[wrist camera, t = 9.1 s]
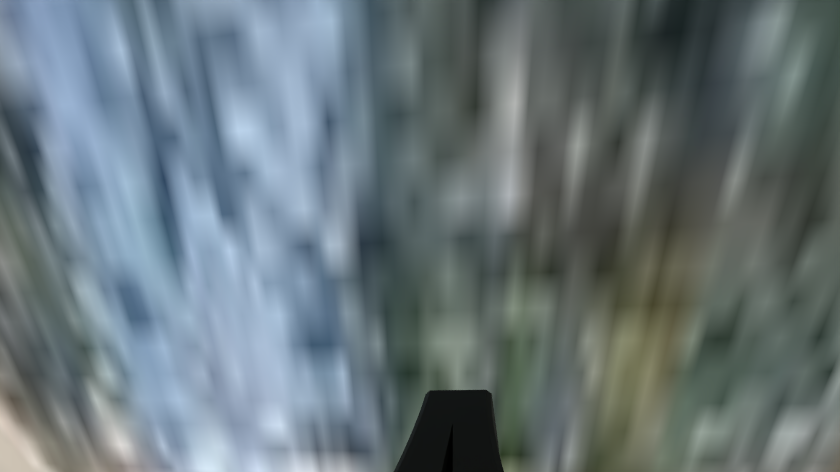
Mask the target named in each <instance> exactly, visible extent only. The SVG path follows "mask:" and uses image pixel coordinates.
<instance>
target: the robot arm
mask: <svg viewBox="0 0 840 472" xmlns="http://www.w3.org/2000/svg"><path fill="white" fill-rule="evenodd" d="M394 472H504V471H503V467H502V463H501V459H500V455H499V448H498V439H497V431H496V424H495V416H494V409H493V401H492V394H491V393H490V392H488V391H487V390H438V391H429V392H428V393H427V394H426V395H425V398H424V402H423V405H422V407H421V410H420V413H419V416H418V418H417V421H416V423H415V426H414V428H413V431H412V433H411V436H410V438H409V440H408V442H407V445H406V447H405V449H404V452H403V454H402V456H401V458H400V460H399V462H398V464H397V466H396V468H395V471H394Z"/></svg>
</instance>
